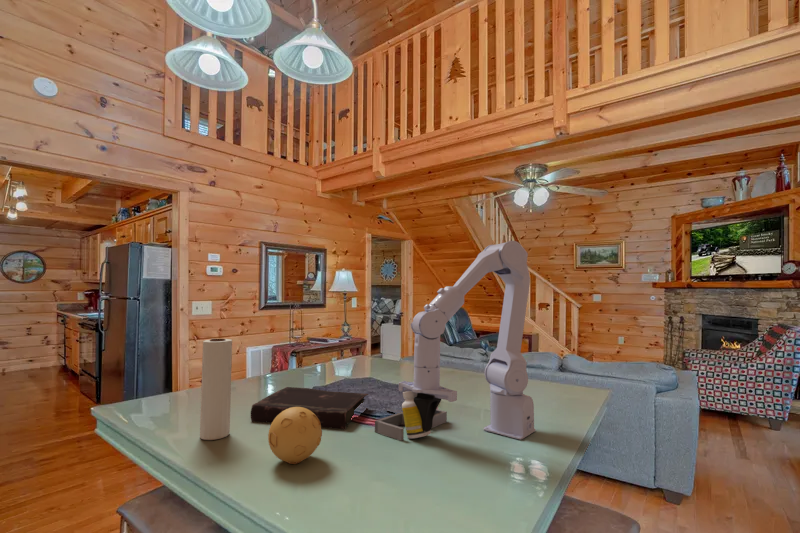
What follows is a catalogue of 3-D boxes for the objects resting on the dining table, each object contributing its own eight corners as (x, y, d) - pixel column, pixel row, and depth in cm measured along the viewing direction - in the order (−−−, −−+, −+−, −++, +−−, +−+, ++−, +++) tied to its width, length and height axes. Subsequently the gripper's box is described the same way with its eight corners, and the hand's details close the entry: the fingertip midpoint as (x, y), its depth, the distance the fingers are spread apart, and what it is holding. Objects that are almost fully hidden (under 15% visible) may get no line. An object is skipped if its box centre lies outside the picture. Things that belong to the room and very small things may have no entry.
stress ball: (274, 458, 79) (247, 439, 72) (302, 413, 85) (279, 391, 78) (311, 478, 74) (286, 459, 68) (338, 429, 80) (318, 406, 73)
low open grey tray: (446, 421, 99) (446, 395, 99) (401, 440, 86) (401, 410, 87) (395, 408, 110) (395, 384, 111) (348, 423, 98) (348, 396, 98)
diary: (344, 433, 93) (344, 411, 93) (250, 424, 99) (250, 404, 99) (369, 409, 111) (369, 391, 111) (288, 403, 117) (288, 385, 117)
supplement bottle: (428, 436, 85) (418, 389, 87) (404, 440, 86) (395, 394, 89) (434, 431, 90) (424, 387, 92) (411, 435, 91) (402, 391, 94)
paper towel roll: (223, 440, 86) (226, 341, 87) (194, 441, 86) (198, 341, 87) (235, 429, 93) (237, 337, 95) (208, 429, 93) (211, 337, 94)
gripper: (390, 364, 90) (388, 426, 88) (443, 372, 80) (443, 442, 79) (410, 360, 95) (409, 419, 94) (462, 368, 85) (462, 434, 84)
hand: (425, 429), depth 87 cm, fingers closed, pressing on supplement bottle
